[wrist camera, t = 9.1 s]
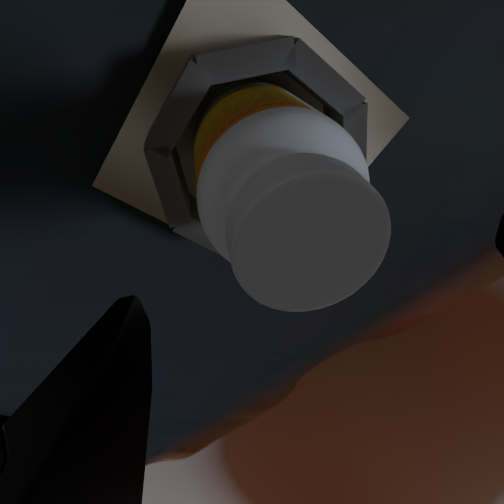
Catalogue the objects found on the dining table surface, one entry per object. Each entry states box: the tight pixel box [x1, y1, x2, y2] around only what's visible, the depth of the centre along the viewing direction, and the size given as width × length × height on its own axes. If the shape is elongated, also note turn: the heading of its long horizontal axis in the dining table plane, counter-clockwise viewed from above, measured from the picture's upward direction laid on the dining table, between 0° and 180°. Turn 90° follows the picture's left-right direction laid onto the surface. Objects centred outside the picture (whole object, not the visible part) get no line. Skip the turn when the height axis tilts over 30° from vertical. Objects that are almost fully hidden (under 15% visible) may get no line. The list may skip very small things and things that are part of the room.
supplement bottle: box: [193, 80, 391, 312], centre depth 12 cm, size 5×5×10 cm
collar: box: [92, 0, 409, 256], centre depth 16 cm, size 11×11×3 cm
